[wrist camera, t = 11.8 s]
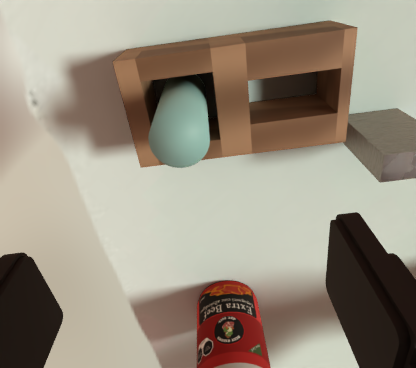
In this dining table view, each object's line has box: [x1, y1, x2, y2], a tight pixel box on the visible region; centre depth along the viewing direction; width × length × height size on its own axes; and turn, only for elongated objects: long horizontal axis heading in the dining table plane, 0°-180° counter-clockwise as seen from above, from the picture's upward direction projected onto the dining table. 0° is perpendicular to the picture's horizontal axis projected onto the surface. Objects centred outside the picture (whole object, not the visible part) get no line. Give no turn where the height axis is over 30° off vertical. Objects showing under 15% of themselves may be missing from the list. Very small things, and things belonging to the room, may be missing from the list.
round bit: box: [148, 74, 210, 168], centre depth 23 cm, size 4×4×10 cm
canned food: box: [197, 281, 270, 368], centre depth 37 cm, size 8×8×11 cm
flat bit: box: [343, 108, 416, 182], centre depth 26 cm, size 2×5×8 cm, turn 97°
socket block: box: [113, 21, 357, 167], centre depth 25 cm, size 8×16×5 cm, turn 97°
